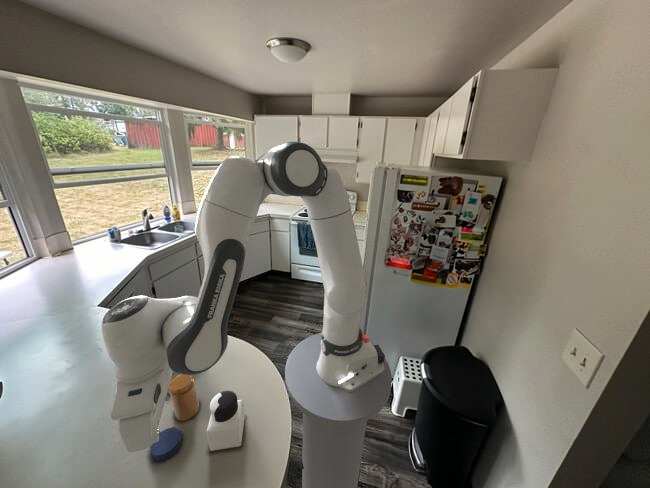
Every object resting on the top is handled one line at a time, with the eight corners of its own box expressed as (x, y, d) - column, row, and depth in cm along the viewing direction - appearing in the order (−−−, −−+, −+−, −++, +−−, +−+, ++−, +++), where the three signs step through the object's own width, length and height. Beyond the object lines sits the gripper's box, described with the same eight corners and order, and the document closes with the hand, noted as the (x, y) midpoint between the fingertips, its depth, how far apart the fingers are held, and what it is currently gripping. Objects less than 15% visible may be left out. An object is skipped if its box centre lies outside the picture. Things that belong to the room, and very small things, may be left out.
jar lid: (147, 463, 56) (145, 458, 56) (157, 435, 62) (155, 430, 61) (177, 457, 58) (175, 451, 57) (184, 429, 64) (183, 424, 63)
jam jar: (197, 396, 72) (191, 368, 68) (201, 412, 68) (195, 384, 64) (174, 406, 69) (167, 378, 65) (176, 425, 65) (169, 395, 61)
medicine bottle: (244, 417, 67) (241, 384, 63) (241, 446, 60) (236, 412, 56) (216, 421, 66) (211, 388, 61) (209, 451, 59) (203, 417, 55)
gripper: (144, 340, 59) (157, 382, 64) (105, 424, 41) (127, 475, 46) (174, 334, 61) (185, 376, 66) (149, 413, 43) (166, 462, 48)
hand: (161, 417), depth 56 cm, fingers open, 8 cm apart
